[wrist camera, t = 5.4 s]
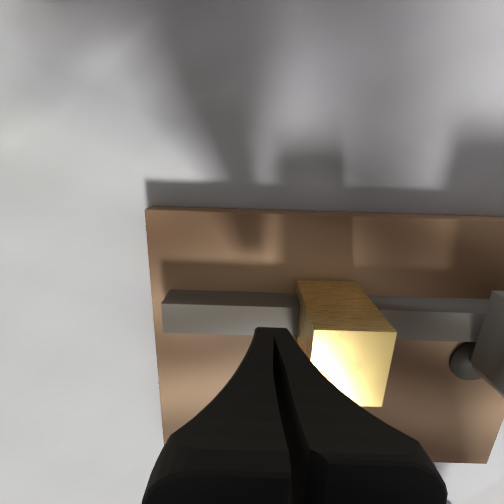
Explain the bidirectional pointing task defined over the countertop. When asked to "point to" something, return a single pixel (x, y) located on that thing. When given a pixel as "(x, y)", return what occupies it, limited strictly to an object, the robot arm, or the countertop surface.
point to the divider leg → (346, 338)
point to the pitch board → (337, 269)
